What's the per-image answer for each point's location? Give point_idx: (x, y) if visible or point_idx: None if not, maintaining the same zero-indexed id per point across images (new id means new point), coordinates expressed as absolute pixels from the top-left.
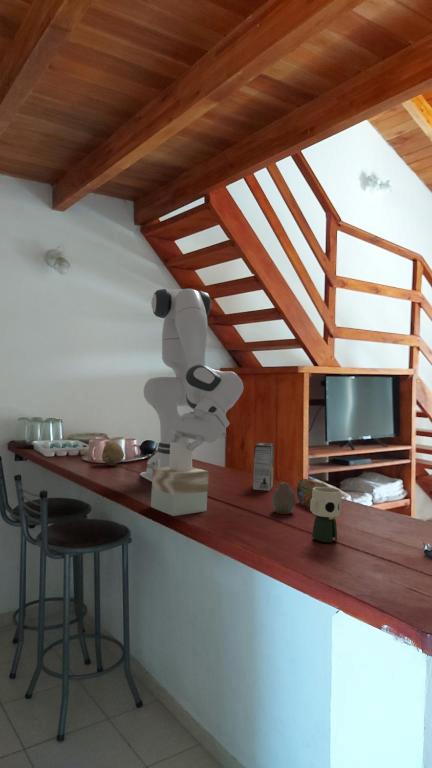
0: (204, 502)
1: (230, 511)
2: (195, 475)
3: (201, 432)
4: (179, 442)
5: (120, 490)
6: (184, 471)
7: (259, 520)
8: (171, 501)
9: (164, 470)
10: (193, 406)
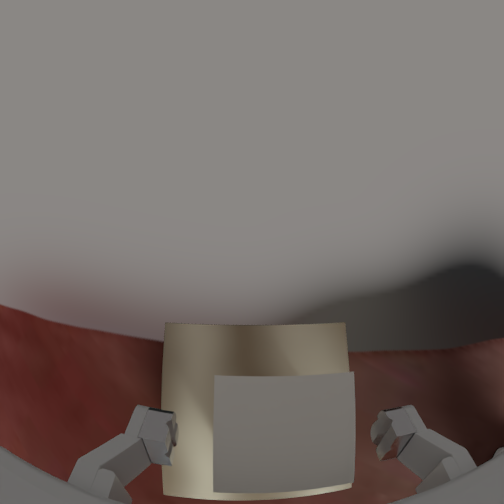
0: None
1: (150, 494)
2: None
3: (36, 488)
4: (317, 438)
5: (472, 355)
6: (210, 405)
7: (58, 469)
8: None
9: (275, 339)
10: None
